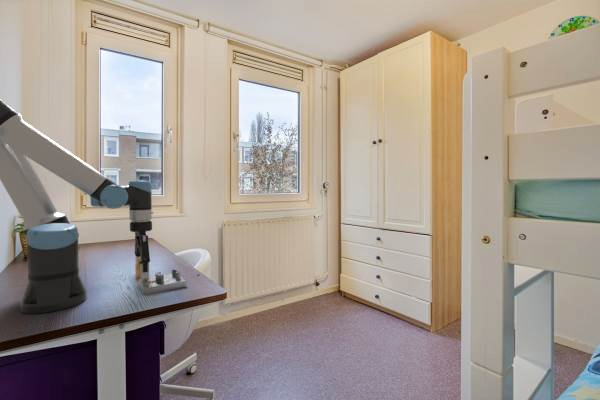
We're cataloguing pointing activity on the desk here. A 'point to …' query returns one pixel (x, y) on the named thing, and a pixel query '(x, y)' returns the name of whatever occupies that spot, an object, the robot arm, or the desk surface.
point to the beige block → (138, 269)
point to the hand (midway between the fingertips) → (142, 276)
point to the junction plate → (162, 282)
